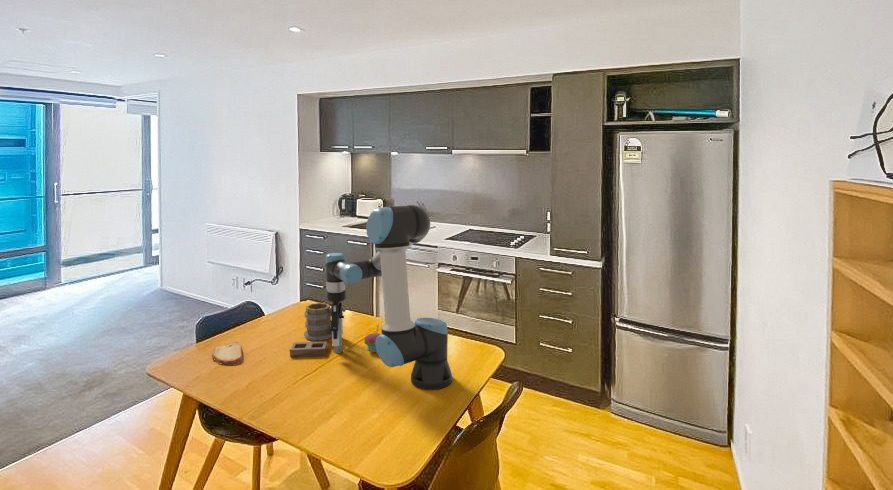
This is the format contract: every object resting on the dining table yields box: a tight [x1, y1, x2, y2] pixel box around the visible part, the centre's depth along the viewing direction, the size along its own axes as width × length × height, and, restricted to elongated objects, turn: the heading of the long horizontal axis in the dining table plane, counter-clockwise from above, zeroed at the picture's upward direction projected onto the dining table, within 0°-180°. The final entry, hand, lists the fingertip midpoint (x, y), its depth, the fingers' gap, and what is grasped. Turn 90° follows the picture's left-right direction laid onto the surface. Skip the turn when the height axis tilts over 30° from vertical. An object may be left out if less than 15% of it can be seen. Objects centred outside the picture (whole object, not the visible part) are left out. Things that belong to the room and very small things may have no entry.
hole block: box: [289, 341, 329, 358], centre depth 208 cm, size 8×14×3 cm, turn 96°
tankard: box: [303, 302, 347, 342], centre depth 225 cm, size 20×13×15 cm, turn 73°
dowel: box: [333, 318, 343, 354], centre depth 208 cm, size 3×3×14 cm
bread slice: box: [211, 341, 244, 366], centre depth 205 cm, size 18×18×4 cm
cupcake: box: [363, 322, 381, 353], centre depth 209 cm, size 9×8×12 cm
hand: (337, 339), depth 208 cm, fingers open, 13 cm apart
